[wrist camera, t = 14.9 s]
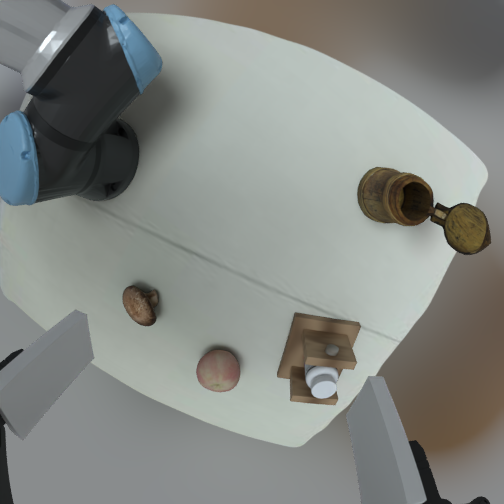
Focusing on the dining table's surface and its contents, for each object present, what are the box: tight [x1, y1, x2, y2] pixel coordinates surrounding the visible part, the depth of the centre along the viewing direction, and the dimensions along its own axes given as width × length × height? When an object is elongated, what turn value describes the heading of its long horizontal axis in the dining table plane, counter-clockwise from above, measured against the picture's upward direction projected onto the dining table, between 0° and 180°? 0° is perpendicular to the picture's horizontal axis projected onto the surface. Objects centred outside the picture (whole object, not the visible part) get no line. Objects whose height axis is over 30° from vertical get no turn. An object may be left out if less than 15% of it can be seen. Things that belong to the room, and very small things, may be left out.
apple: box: [196, 350, 240, 392], centre depth 46 cm, size 8×8×8 cm
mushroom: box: [123, 286, 158, 326], centre depth 45 cm, size 8×8×6 cm
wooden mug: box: [357, 167, 491, 255], centre depth 30 cm, size 9×14×18 cm, turn 69°
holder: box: [277, 312, 361, 405], centre depth 42 cm, size 12×14×10 cm
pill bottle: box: [304, 362, 338, 399], centre depth 41 cm, size 5×5×10 cm
